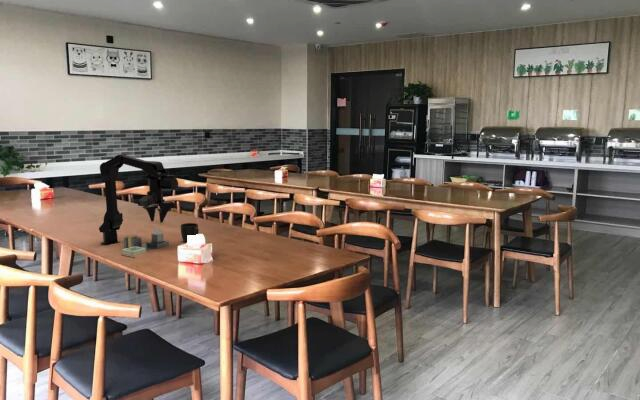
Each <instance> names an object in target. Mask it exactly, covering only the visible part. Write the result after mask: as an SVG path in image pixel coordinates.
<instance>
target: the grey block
mask: <svg viewBox="0 0 640 400" xmlns="http://www.w3.org/2000/svg"><path fill="white" fill-rule="evenodd" d="M150 236H151V241H152V243H156V244H158V243H162V242H164V241H165V239H164V233H162V228H161V227H158V228H156V227H155V228H153V233H152V234H151V235H150Z"/></svg>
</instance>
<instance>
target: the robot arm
mask: <svg viewBox="0 0 640 400" xmlns="http://www.w3.org/2000/svg"><path fill="white" fill-rule="evenodd" d="M124 165H125V166H130V167H133V168H137V169H139V170H142V172H144V173H146V174H147V175H146V176H145V177H144V179H145V180H148V189H149V191H147V192H146V195H145V196H142V197H141V198H140V199H138V201H137V206H138V207H142V209H144V210H146V212H147V214H148V216H149V219H150V221H151V222H154V221H155V216H156V210H157V211H158V212H159V213H158V215H159V222H160V224H162V223H164V221H165V218H166V215H167V214H168V212H169V210H171V209H175V208H176V203H175V202H174V201H169V200H167V201H165V199H163V198H164V197H163V194H164V193H165V191H164V190H166V191H177V189H178V186H179V182H178V179H177V178H176V175H175V174H169V173H168V171H167V170H166V169H165V167H164V164H163V163H162V162H161V161H153V160H144V159H141V158H137V157H134V156H130V155H127V154H125V153H123V154H122V153H121V154H117V155H115V156H114V157H112V158H110V159H109V160H107V161H104V162H102V163H101V164H100V165H99V171H100V176H101V177H102V179H103V180H104V181H103V182H104V191H105V192H104V193H105V203H106V210H105V213H104V216H103V223H102V224H101V225H100V226H99V228H98V230H99V233H102V239H103V241H101V242H100V244H101V245H107V246H111V245H115V244H119V243H121V242H120V241H118V231H119V230H120V229H121V226H122V224H123V222H124V217H123V215H124V214H123V212H120V211H119V209H118V195H117V182H116V181H117V178H118V176H119V172H120V171H119V170H120V169H121V168H122V167H123V166H124ZM157 207H159V208H157ZM156 208H157V209H156Z"/></svg>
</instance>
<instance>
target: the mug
mask: <svg viewBox="0 0 640 400" xmlns="http://www.w3.org/2000/svg"><path fill="white" fill-rule="evenodd" d="M199 231H200V230H199V224H198V223H195V222H189V223H188V222H186V223H182V224H180V235H181V239H182V241H183V243H186V242H187V235H196V234H198V235H199ZM186 244H187V243H186Z"/></svg>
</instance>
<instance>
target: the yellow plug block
mask: <svg viewBox="0 0 640 400" xmlns="http://www.w3.org/2000/svg"><path fill="white" fill-rule="evenodd" d="M125 237H126V238H127V240H128V247H131V239H132V238H136V237H138V235H137V234H128V235H125Z"/></svg>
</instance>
